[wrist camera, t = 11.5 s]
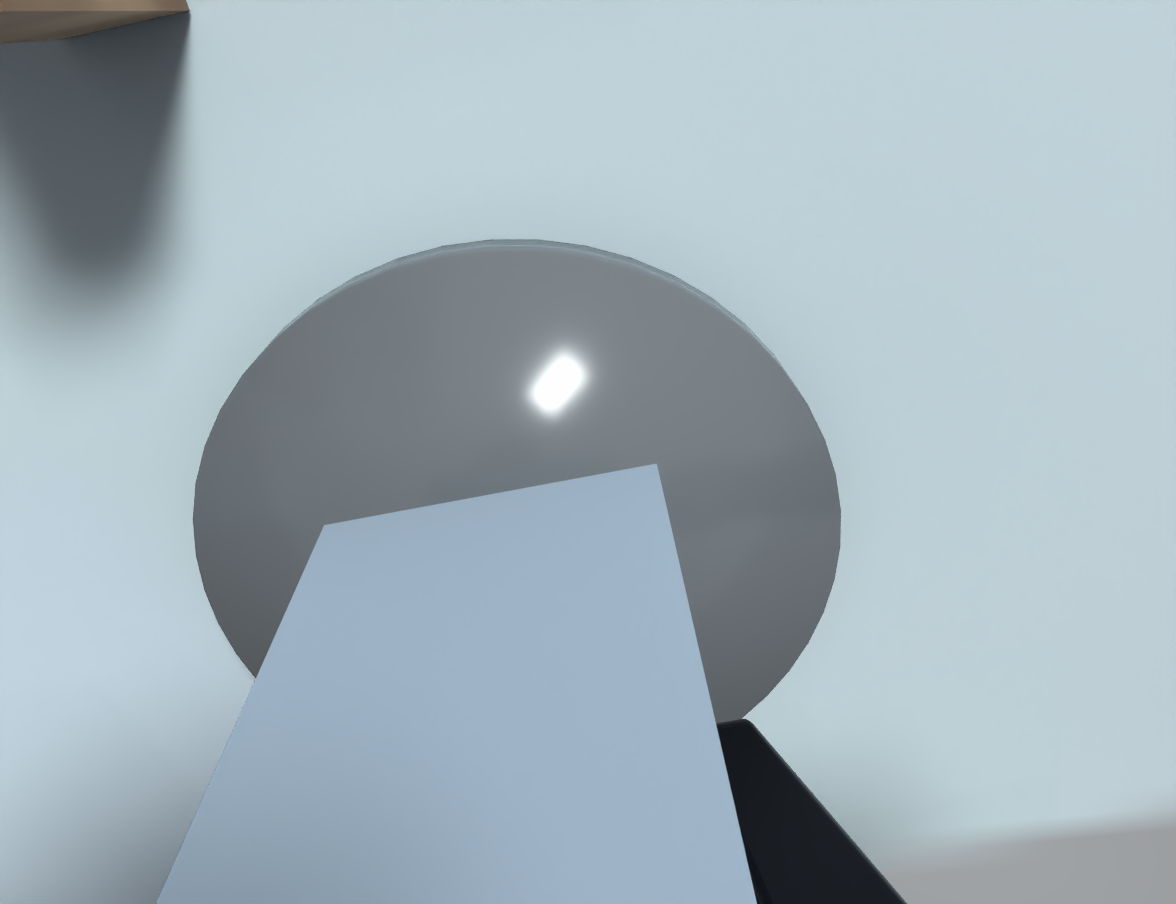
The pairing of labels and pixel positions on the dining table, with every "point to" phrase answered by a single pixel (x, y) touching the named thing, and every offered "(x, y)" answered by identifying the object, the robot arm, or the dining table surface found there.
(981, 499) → the dining table surface
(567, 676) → the block
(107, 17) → the frame
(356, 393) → the coaster
